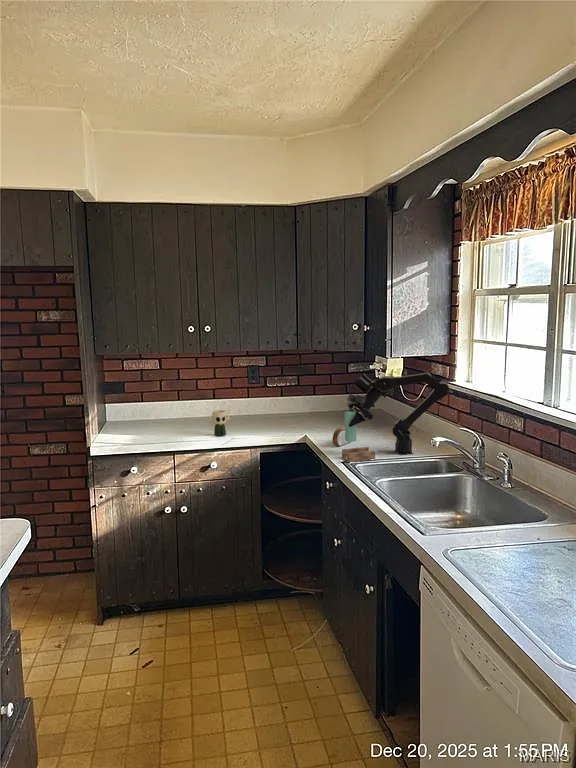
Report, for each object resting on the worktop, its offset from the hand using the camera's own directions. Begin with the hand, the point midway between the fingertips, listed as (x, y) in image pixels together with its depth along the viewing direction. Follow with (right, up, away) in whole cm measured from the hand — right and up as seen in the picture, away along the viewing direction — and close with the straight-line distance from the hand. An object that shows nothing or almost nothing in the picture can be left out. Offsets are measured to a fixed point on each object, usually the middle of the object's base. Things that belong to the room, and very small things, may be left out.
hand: (347, 425), depth 256 cm
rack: (+4, -14, -6) cm, 16 cm away
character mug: (-62, -9, +46) cm, 78 cm away
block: (+2, -7, +1) cm, 7 cm away
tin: (0, -11, +20) cm, 23 cm away
